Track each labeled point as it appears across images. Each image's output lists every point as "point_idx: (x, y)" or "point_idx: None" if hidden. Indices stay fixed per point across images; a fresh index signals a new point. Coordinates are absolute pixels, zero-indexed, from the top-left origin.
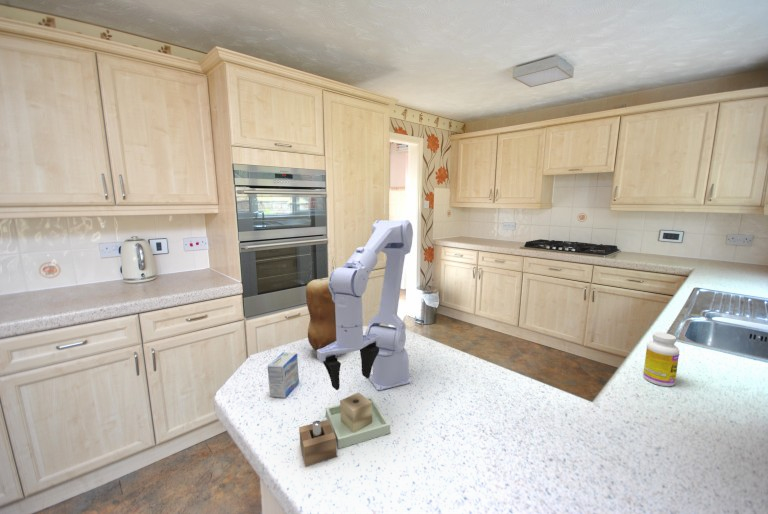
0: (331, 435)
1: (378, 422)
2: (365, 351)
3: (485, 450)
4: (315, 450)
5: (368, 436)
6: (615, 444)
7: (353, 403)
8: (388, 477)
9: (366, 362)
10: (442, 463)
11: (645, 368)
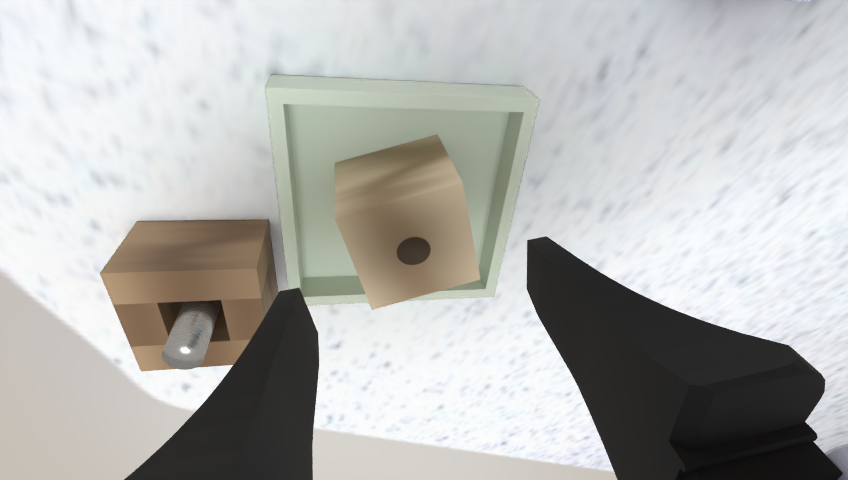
0: None
1: (476, 227)
2: (641, 455)
3: None
4: None
5: None
6: (814, 417)
7: (395, 262)
8: (395, 388)
9: (585, 366)
10: (529, 386)
11: None
